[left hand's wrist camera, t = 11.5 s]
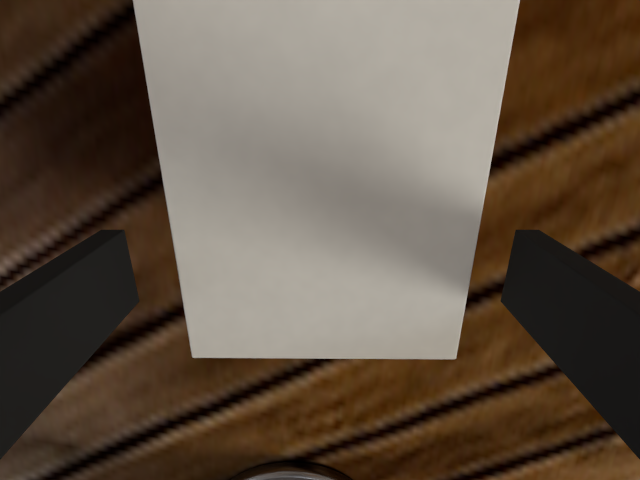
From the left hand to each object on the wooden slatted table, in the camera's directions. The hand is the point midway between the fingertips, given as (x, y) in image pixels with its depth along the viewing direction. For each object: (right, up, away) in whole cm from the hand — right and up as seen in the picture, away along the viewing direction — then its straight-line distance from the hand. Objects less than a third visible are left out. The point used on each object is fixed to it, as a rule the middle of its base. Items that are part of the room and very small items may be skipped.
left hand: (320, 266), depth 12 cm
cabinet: (0, +9, +8) cm, 12 cm away
